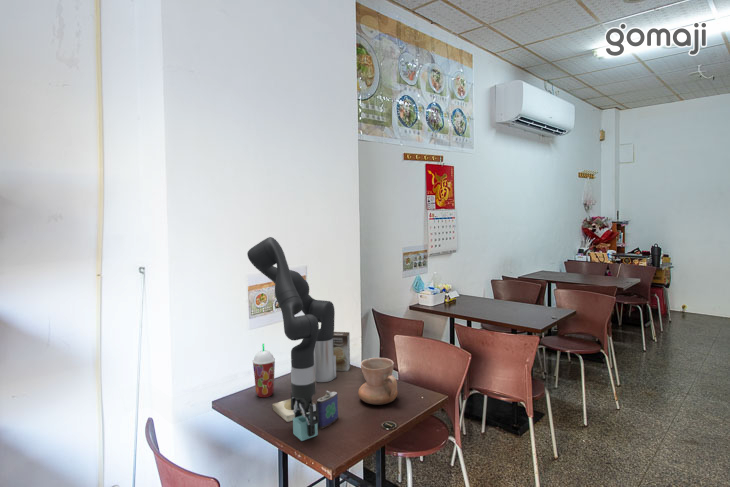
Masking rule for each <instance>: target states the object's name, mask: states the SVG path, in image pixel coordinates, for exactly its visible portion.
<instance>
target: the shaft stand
mask: <svg viewBox="0 0 730 487" xmlns="http://www.w3.org/2000/svg"><path fill="white" fill-rule="evenodd" d="M313 404H316V403H314V402H313ZM294 405H295V403H294ZM272 410H273V411H274V412H275V413H276V414H277V415H278V416H280V417H281V418H282V419H283V420H284V421H285V422H287V423H289V422H293V418H295V414H294V412H293V410H291V398H288V399H285V400H282V401H279V402H275V403H272ZM300 413H302V412H300ZM308 413H309V412H308ZM308 413H306V414H308ZM302 415H303V413H302Z"/></svg>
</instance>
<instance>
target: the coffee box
mask: <svg viewBox="0 0 730 487" xmlns="http://www.w3.org/2000/svg"><path fill="white" fill-rule="evenodd" d="M350 336H351V335H350V332H349V331H347V332H345V331H334V333H333V347H334V355H335V356H336V372H349V370H350V367H351V349H350V348H351V345H350V342H351V341H350Z"/></svg>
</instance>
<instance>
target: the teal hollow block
mask: <svg viewBox="0 0 730 487" xmlns="http://www.w3.org/2000/svg"><path fill="white" fill-rule="evenodd" d="M308 414H309V413H308ZM315 419H316V418H315ZM309 420H310V417H309ZM318 429H319V428H318V423H317V424H315V435H313V436H310V437H309V436H308V431H307V421H306V418H304V416H303V415H302V416H298V417H295V418H293V421H292V432H293V435H294V436H295V437H296V438H297V439H299V440H300V441H301V442H303V441H306V440H309V439H311V438H314V437H316V436H318V435H319V434H318V433H319V432H318Z"/></svg>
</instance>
